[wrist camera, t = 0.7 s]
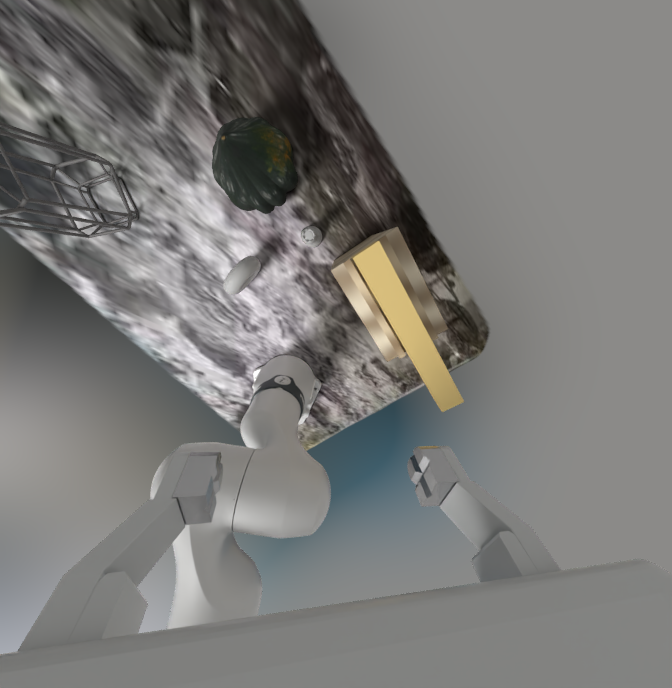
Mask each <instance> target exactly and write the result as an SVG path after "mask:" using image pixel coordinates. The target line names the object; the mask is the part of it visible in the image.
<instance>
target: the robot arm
mask: <svg viewBox="0 0 672 688" xmlns="http://www.w3.org/2000/svg"><path fill="white" fill-rule="evenodd" d="M253 376H254V384H253V386H252V388H253V390H254V394H253V396H252V399H251V403H250V407H249V408H248V410H247V412H246V414H245V416H244V417H243V419H242V422H241V435H242V438H243V440H244V442H245V444H246V446H247V447H242V446H236V445H230V444H224V443H218V442H205V443H204V442H203V443H186V444H183V445H181V446H180V447H178V448H177V449H175V450H174V451H173V452H172V453H170V454H169V455H168V456H167V457H166V458H165V460H164V461H163V462H162V463H161V465H160V466H159V468H158V470H157V472H156V474H155V476H154V479H153V482H152V486H151V499H150V500H147V501H146V502H145V503H144V504H143V505H142V506H141V507H140V508H139V509H137V510H136V511H135V512H134V513H133V514H132V515H131V516H129V517H128V518H127V519H126V520H125V521H124V522H123V523H122V524H120V525H119V526H118V527H117V528H116V529H115V530H114V531H113V532H112V533H111V534H109V535H108V536H107V537H106V538H105V539H104V540H103V541H102V542H100V543H99V544H98V545H97V546H96V547H95V548H94V549H92V550H91V551H90V552H89V553H88V554H87V555H86V556H85V557H84V558H82V559H81V560H80V561H79V562H78V563H77V564H76V565H75V566H74V567H72V568H71V569H70V570H69V571H68V572H67V573H66V574H64V576H63V577H62V579H61V580H60V582H59V583H58V585H57V587H56V588H55V590H54V592H53V593H52V595H51V597H50V598H49V600H48V602H47V603H46V605H45V607H44V608H43V610H42V611H41V613H40V615H39V616H38V618H37V620H36V621H35V623H34V625H33V626H32V628H31V630H30V631H29V633H28V635H27V636H26V638H25V640H24V641H23V643H22V644H21V646H20V648H19V649H18V651H17V652H12V653H5V654H0V688H672V574H671V573H670V572H668V571H667V570H665V569H663V568H661V567H660V566H658V565H656V564H654V563H652V562H650V561H647V560H644V559H633V560H627V561H620V562H614V563H607V564H601V565H594V566H587V567H581V568H574V569H567V570H561V569H560V568H559V566H558V565H557V563H556V562H555V561H554V559H553V558H552V556H551V555H550V553H549V552H548V550H547V549H546V548H545V546H544V545H543V543H542V542H541V541H540V539H539V537H538V536H537V535H536V533H535V532H534V530H533V529H532V528H531V527H530V526H529V525H528V524H526V523H525V522H524V521H523V520H521V519H520V518H519V517H518V516H517V515H515V514H514V513H513V512H511V511H510V510H509V509H508V508H507V507H505V506H504V505H503V504H502V503H500V502H498V500H497V499H495V498H494V497H493V496H491V495H490V494H489V493H488V492H487V491H485V490H484V489H483V488H482V487H480V486H479V485H478V484H476V483H475V482H474V481H470V479H469V478H468V476H467V474H466V472H465V471H464V469H463V467H462V466H461V464H460V463H459V461H458V459H457V458H456V456H455V454H454V453H453V451H452V450H451V448H450V447H448V446H423V447H416V448H415V449H414V451H413V453H414V455H413V456H412V457H410V459H409V461H408V472H409V476H410V479H411V480H412V481H413V482H414V483H415V484H416V489H415V491H416V494H417V496H418V499H419V501H420V504H421V506H422V507H423V506H440V508H441V509H442V510H443V511H444V512H445V514H447V516H448V517H449V518H450V519H451V520H452V521H453V522H454V524H455V525H456V526H457V527H458V528H459V529H460V530H461V531H462V532H463V534H464V535H465V536H466V537H467V538H468V539H469V540H470V541H471V542H472V544H473V545H474V546H475V547H476V548H477V549H478V550H479V552H478V553H477V554H476V555H475V556H474V557H473V558H472V561H471V562H472V565H473V567H474V569H475V571H476V573H477V576H478V578H479V580H480V583H473V584H467V585H460V586H453V587H447V588H440V589H433V590H426V591H420V592H413V593H406V594H400V595H393V596H386V597H380V598H373V599H366V600H360V601H353V602H346V603H340V604H334V605H326V606H319V607H313V608H306V609H299V610H293V611H286V612H279V613H273V614H266V615H259V616H257V615H258V610H259V605H260V600H261V595H262V581H261V576H260V573H259V570H258V568H257V566H256V564H255V562H254V561H253V560H252V559H251V557H249V556H248V555H247V554H246V553H245V552H244V551H243V550H242V549H241V548H240V547H239V546H238V544H237V542H236V540H235V537H234V534H233V532H239V533H246V534H253V535H260V536H266V537H274V538H289V537H300V536H307V535H312V534H313V533H314V532H315V531H316V530H317V529H318V528H319V526H320V525H321V524H322V522H323V520H324V519H325V516H326V514H327V511H328V509H329V505H330V498H331V490H330V483H329V479H328V476H327V473H326V471H325V470H324V468H323V466H322V465H321V464H319V463H318V462H317V461H315V460H314V459H313V458H312V457H311V456H310V455H309V454H308V453H307V452H306V451H305V449H304V448H303V446H302V445H301V443H300V441H299V439H298V434H297V433H298V425H299V424H302V423H304V421H305V419H306V418H307V417H308V415H309V412H310V409H311V406H312V404H313V402H314V400H315V398H316V396H317V394H318V392H319V390H320V388H321V385H322V384H321V382H320V381H319V380H318V379H317V378H316V377H315V376H314V374H313V372H312V370H311V368H310V367H309V365H308V364H307V363H306V362H304V361H303V360H301V359H300V358H298V357H295V356H290V355H282V356H277V357H275V358H273V359H271V360H270V361H269V362H267V363H266V364H265V365H264V366H262V367H259V368H257V369H255V370H254V373H253ZM315 388H317V389H315ZM171 544H172V545H173V549H174V554H175V561H176V586H175V592H174V598H173V602H172V607H171V611H170V615H169V620H168V624H167V628H166V630H159V631H152V632H146V633H139V634H138V632H139V628H140V625H141V623H142V620H143V617H144V614H145V611H146V608H147V605H148V603H147V601H146V599H145V598H144V596H143V595H142V594H141V592H140V591H139V590H138V588H137V586H138V585H139V584H140V583H141V581H142V580H143V579H144V578H145V576H146V575H147V574H148V573H149V571H150V570H151V569H152V567H154V565H155V564H156V563H157V562H158V560H159V559H160V558H161V557H162V555H163V554H164V553H165V552H166V550H167V549H168V548H169V547H170V545H171Z"/></svg>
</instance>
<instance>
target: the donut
mask: <svg viewBox="0 0 672 688" xmlns="http://www.w3.org/2000/svg"><path fill="white" fill-rule="evenodd" d="M260 267H261V263H260V261H259V259H258V258H256V257H253V256H248V257H246V258H244V259H243V260H241V261H240V262H239V263H238V264H237V265H236V266H235V267H234V268H233V269H232V270H231V271H230V273H229V274H228V275H227V277H226V279H225V281H224V284H223V286H224V289H225V291H226V292H227V293H228V294H231V295H235V294H238V293H240V292H241V291H242V290H243V289H244V288H245V287H247V286H248V285H249V283H250V282H251V281H252V280H253V279H254V278H255V276H256V275H257V274H258V272H259V270H260Z"/></svg>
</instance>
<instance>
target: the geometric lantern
mask: <svg viewBox="0 0 672 688" xmlns="http://www.w3.org/2000/svg"><path fill="white" fill-rule="evenodd" d="M0 127H4V128H7V129H10V130H13V131H16V132H19V133H22V134H25V135H28V136H31V137H34V138H37V139H40V140H43V141H46V142H49V143H52V144H55V145H58V146H62V147H65V148H68V149H71V150H74V151H77V152H80V153H83V154H86V155H89V156H86V155H82V154H79V153H76V152H72V151H69V150H66V149H63V148H59V147H56V146H53V145H49V144H46V143H43V142H40V141H36V140H33V139H30V138H26V137H23V136H20V135H16V134H13V133H10V132H7V131H3V130H0V134H2V135H5V136H8V137H12V138H15V139H19V140H22V141H26V142H29V143H32V144H36V145H39V146H43V147H46V148H50V149H53V150H57V151H60V152H63V153H67V154H70V155H74V156H77V157H81V158H79V159H75V160H71V161H67V162H63V163H59V164H56V165H53V164H50V163H46V162H43V161H39V160H35V159H32V158H28V157H24V156H21V155H17V154H14V153H10V152H6V151H4V149H3V147H2V145H1V143H0V154H3V156H4V158H5V160H6V162H7V164H8V166H6V165H3V164H0V167H1V168H5V169H9V170H11V172H12V173H13V175H14V177H15V179H16V181H17V183H18V185H19V187H20V189H21V190H22V192H23V194H24V196H25V197H24V198H22V199H21V200H20V199H18V198H17V197H15V196H14V195H13V194H11V193H10V192H9V191H7V190H6V189H5V188H3V187H2V186H0V188H1V189H2V190H3V191H5V192H6V193H7V194H9V195H10V196H12V197H13V198H14V199H16V200H17V201H18V202H20V203H19V204H18V206H17V208H14V209H7V210H1V211H0V219H4V220H11V221H17V222H23V223H30V224H36V225H42V226H49V227H55V228H61V229H68V230H74V231H77V232H78V233H80V234H77V233H70V232H63V231H56V230H49V229H42V228H35V227H28V226H21V225H14V224H7V223H0V226H2V227H10V228H18V229H25V230H33V231H41V232H48V233H56V234H64V235H71V236H79V237H86V238H92V237H97V236H101V235H106V234H111V233H116V232H120V231H125V230H129V229H130V228H131V223H132V221H135V220H137V219H138V211H137V209H136V207H135V205H134V203H133V201H132V199H131V197H130V195H129V193H128V191H127V189H126V187H125V185H124V183H123V181H122V180H121V179H120V178H117V175H116V173H115V170H114V168H113V165H112V164H111V163H110V162H109V161H107V160H105V159H104V158H102V157H100V156H98V155H96V154H93V153H90V152H87V151H84V150H81V149H78V148H75V147H72V146H69V145H66V144H63V143H60V142H57V141H54V140H51V139H48V138H46V137H43V136H40V135H37V134H34V133H31V132H28V131H25V130H22V129H19V128H16V127H13V126H10V125H7V124H4V123H1V122H0ZM7 155H8V156H11V157H15V158H19V159H23V160H27V161H31V162H34V163H38V164H42V165H46V166H50V167H52V171H51V175H50V178H47V177H44V176H40V175H37V174H34V173H30V172H27V171H24V170H20V169H17V168H13V166H12V164H11V162H10V160H9V158H8V156H7ZM99 159H100V160H99ZM86 160H91V161H94V162H98V163H100V165H101V167H102V168H103V170H104V171H105V173H106V174H103V175H101V176H98V177H96V178H93V179H91V180H89V181H86V182H84V183H81V184H79V183H78V182H77V181H75V180H74V179H73V178H71V177H70V176H69V175H67V174H66V173H65V172H63V171H62V170H61V169H59V167H63V166H67V165H71V164H75V163H79V162H83V161H86ZM103 164H105V165H108V166H110V170H111V175H110V174H108V173H107V171H106V169H105V168H104V166H103ZM56 170H59V171H60V172H61V173H63V174H64V175H65V176H67V177H68V178H70V179H71V180H72V181H74V182H75V183H76V184H78V185H79V186H78V188H76V187H73V186H70V185H67V184H64V183H61V182H57V181H54V177H55V173H56ZM15 171H16V172H19V173H23V174H26V175H30V176H34V177H37V178H40V179H44V180H47V181H51V183H52V185H53V187H54V189H55V191H56V193H57V195H58V197H59V199H60V201H61V203H57V202H51V201H45V200H39V199H33V198H29V196H28V194H27V193H26V191H25V189H24V187H23V185H22V183H21V181H20V179H19V177H18V175H17V173H16V172H15ZM105 176H109V177H111V178H108V179H105V180H102V181H99V182H97V183H94V184H91V185H88V186H85V184H88V183H90V182H93V181H95V180H98V179H100V178H103V177H105ZM114 179H115V180H114ZM109 180H113V182H114V184H115V186H116V188H117V190H118V192H119V194H120V196H121V198H122V201H123V203H124V205H125V207H126V209H127V211H128V214H127V213H120V212H113V211H107V210H101V209H98V208H97V206H96V205H95V203H94V201H93V199H92V197H91V196H90V194H89V188H90V187H93V186H95V185H98V184H101V183H104V182H106V181H109ZM119 180H120V182H121V184H122V186H123V188H124V190H125V192H126V194H127V196H128V198H129V200H130V202H131V204H132V206H133V208H134V210H135V211H130V208H129V206H128V203H127V200H126V198H125V195H124V193H123V190H122V188H121V185H120V183H119ZM115 181H116V182H115ZM56 183H58V184H61V185H64V186H67V187H70V188H73V189H77V190H78V191H79V193H80V195H81V197H82V198H83V200H84V202H85V204H86V205H87V207H82V206H76V205H70V204H65V202H64V199H63V197H62V195H61V193H60V191H59V189H58V187H57V185H56ZM81 186H82V187H85V188H87V191H83V190H80V189H81ZM82 192H83V193H87V194H88V196H89V198H90V200H91V201H92V203H93V205H94V207H95V209H94V208H90V207H89V205H88V203H87V201H86V199H85V198H84V196H83V194H82ZM27 202H32V203H39V204H45V205H52V206H59V207H64V209H65V211H66V213H67V215H68V216H66V215H61V214H55V213H50V212H45V211H39V210H33V209H27V208H24V207H25V205H26V204H27ZM68 208H72V209H79V210H86V211H90V213H91V214H92V216H93V218H94V220H95V221H93V220H87V219H82V218H77V217H72V216H71V214H70V212H69V210H68ZM20 212H29V213H35V214H40V215H46V216H52V217H58V218H63V219H69V220H70V221H71V223H72V225H73V227H74V228H72V227H66V226H60V225H54V224H48V223H42V222H37V221H31V220H25V219H19V218H13V217H7V216H8V215H12V214H16V213H20ZM93 212H98V214H99V216H100V218H101V219H102V221H103V222H98V221H97V219H96V217H95V215H94V214H93ZM100 213H106V214H113V215H120V216H125V217H123V218H120V219H117V220H114V221H111V222H108V223H105V221H104V219H103V217H102V215H101V214H100ZM132 213H136V217H134V216H133V215H132ZM126 218H128V221H126V222H123V223H120V224H117V225H114V224H112V223H115V222H118V221H121V220H123V219H126ZM132 218H135V219H132ZM74 220H75V221H81V222H86V223H92V225H89V226H86V227H83V228H80V229H78V228H77V226H76V224H75V222H74ZM126 223H128V226H127V227H125V226H120V225H123V224H126ZM96 225H99V227H98V228H97V229H96V230H95V231H94V232H93V233H92V234H91V235H87V234H85V233H84V232H82V231H81V230H84V229H87V228H90V227H93V226H96ZM102 227H109V228H114V227H115V228H120V229H115V230H110V231H106V232H101V233H96V232H97V231H98V230H100V229H101V228H102ZM95 233H96V234H95Z"/></svg>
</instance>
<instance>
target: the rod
mask: <svg viewBox="0 0 672 688" xmlns="http://www.w3.org/2000/svg"><path fill="white" fill-rule="evenodd" d="M352 258H353V260H354V262H355V264H356V265H357V267H358V269H359V271H360V272H361V274H362V276H363V277H364V279H365V281H366V283H367V284H368V286H369V288H370V290H371V291H372V293H373V295H374V296H375V298H376V300H377V302H378V303H379V305H380V307H381V309H382V310H383V312H384V314H385V316H386V317H387V319H388V321H389V322H390V324H391V326H392V328H393V329H394V331H395V333H396V335H397V336H398V338H399V340H400V341H401V343H402V345H403V347H404V348H405V350H406V352H407V354H408V355H409V357H410V359H411V360H412V362H413V364H414V366H415V367H416V369H417V371H418V373H419V374H420V376H421V378H422V380H423V381H424V383H425V385H426V386H427V388H428V390H429V392H430V393H431V395H432V397H433V398H434V400H435V402H436V403H437V405H438V407H439V408H440V410H441V411H442V412H444V411H446V410H448V409H450V408H452V407H454V406H456V405H458V404H461V403H463V402H464V401H463V399H462V397H461V395H460V393H459V391H458V390H457V387H456V385H455V384H454V382H453V380H452V378H451V376H450V374H449V372H448V370H447V368H446V366H445V365H444V363H443V361H442V359H441V357H440V355H439V353H438V351H437V349H436V348H435V346H434V344H433V342H432V340H431V338H430V336H429V334H428V332H427V331H426V329H425V327H424V325H423V323H422V321H421V319H420V317H419V315H418V314H417V312H416V310H415V308H414V306H413V304H412V302H411V300H410V298H409V296H408V295H407V293H406V291H405V289H404V287H403V285H402V283H401V281H400V279H399V278H398V276H397V274H396V272H395V270H394V268H393V266H392V264H391V262H390V261H389V259H388V257H387V255H386V253H385V251H384V249H383V247H382V245H381V244H380V242H379V241H375V242H373V243H371V244H370V245H368V246H367V247H365V248H364V249H362V250H361V251H359V252H358V253H356V254H355V255H353V256H352Z"/></svg>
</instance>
